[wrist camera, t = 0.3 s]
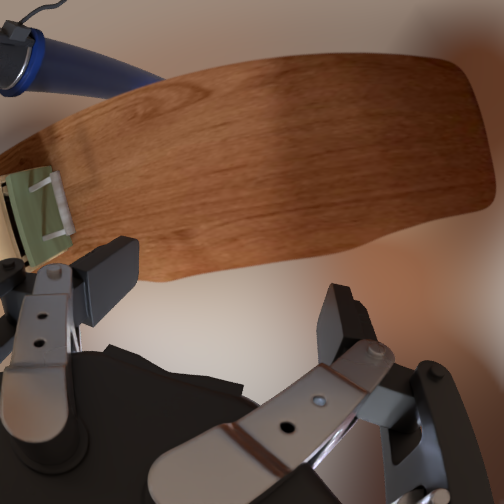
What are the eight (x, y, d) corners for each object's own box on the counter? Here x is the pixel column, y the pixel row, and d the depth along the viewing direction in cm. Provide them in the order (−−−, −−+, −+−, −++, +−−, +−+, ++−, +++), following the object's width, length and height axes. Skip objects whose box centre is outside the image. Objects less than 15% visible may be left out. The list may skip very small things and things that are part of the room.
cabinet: (45, 165, 31) (-6, 177, 23) (68, 249, 35) (23, 276, 26) (-3, 195, 34) (-43, 210, 26) (18, 264, 38) (-20, 286, 30)
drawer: (79, 149, 29) (36, 156, 22) (103, 237, 32) (64, 259, 26) (3, 194, 33) (-31, 206, 26) (22, 260, 36) (-10, 278, 29)
